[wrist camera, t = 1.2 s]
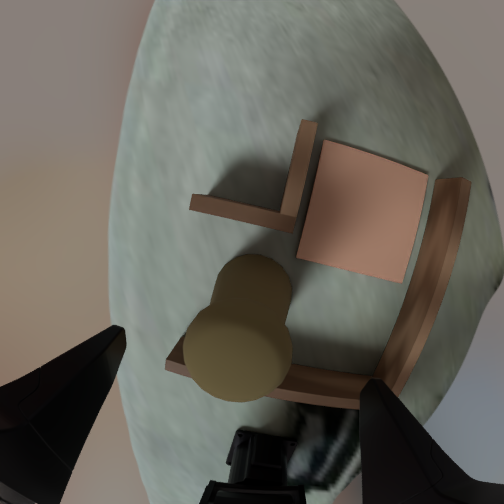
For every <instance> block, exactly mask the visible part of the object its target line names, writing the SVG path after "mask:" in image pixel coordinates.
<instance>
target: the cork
mask: <svg viewBox="0 0 504 504" xmlns="http://www.w3.org/2000/svg"><path fill="white" fill-rule="evenodd" d="M291 295H292V286H291V283H290V279H289V276H288V275H287V273H286V272H285V270H284V269H283V267H282V266H281V265H279V264H278V263H277V262H275V261H274V260H273V259H271V258H268V257H265V256H263V255H258V254H246V255H243V256H239V257H236V258H234V259H233V260H231V261H230V262H228V263H227V264H225V266H224V267H223V268H222V270H221V271H220V272H219V274H218V277H217V280H216V283H215V286H214V290H213V294H212V298H211V302H210V305H209V306H208V307H206V308H205V309H203V310H202V311H200V312H199V313H198V315H197V316H196V317H195V319H194V320H193V321H192V323H191V324H190V325H189V327H188V328H187V332H186V335H185V339H184V343H183V354H184V362H185V365H186V367H187V369H188V371H189V373H190V375H191V377H192V379H193V380H194V381H195V382H196V383H197V384H198V385H199V386H200V388H201V389H203V390H204V391H206V392H207V393H209V394H210V395H212V396H214V397H216V398H219V399H222V400H225V401H231V402H247V401H253V400H257V399H259V398H261V397H263V396H265V395H268V394H269V393H271V392H273V391H274V390H275V389H276V388H277V387H278V386H279V385H280V384H281V383H282V382H283V380H284V379H285V377H286V375H287V373H288V371H289V368H290V366H291V363H292V352H293V347H292V341H291V338H290V335H289V331H288V328H287V327H286V326H285V322H286V318H287V314H288V310H289V306H290V302H291Z"/></svg>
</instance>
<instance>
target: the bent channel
mask: <svg viewBox="0 0 504 504" xmlns="http://www.w3.org/2000/svg"><path fill="white" fill-rule="evenodd" d="M317 125H318V123H315V122H311V121H307V120H303V119H302V120H301V124H300V127H299V130H298V133H297V137H296V142H295V146H294V151H293V155H292V159H291V164H290V168H289V172H288V177H287V181H286V185H285V190H284V194H283V198H282V202H281V207H280V211H276V210H272V209H268V208H264V207H260V206H255V205H251V204H247V203H242V202H238V201H233V200H229V199H224V198H219V197H215V196H210V195H202V194H192V198H191V202H190V207H189V210H193V211H198V212H202V213H207V214H211V215H216V216H220V217H224V218H229V219H233V220H238V221H242V222H246V223H250V224H255V225H259V226H263V227H267V228H271V229H276V230H280V231H284V232H288V233H292V234H293V230H294V226H295V222H296V218H297V214H298V210H299V205H300V201H301V197H302V193H303V188H304V184H305V180H306V175H307V171H308V166H309V162H310V157H311V153H312V148H313V144H314V139H315V134H316V130H317ZM470 189H471V182H470V181H469V180H467V179H465V178H463V177H459V178H448V179H437V180H435V185H434V191H433V196H432V201H431V206H430V211H429V215H428V220H427V224H426V228H425V232H424V236H423V240H422V244H421V248H420V252H419V255H418V259H417V262H416V266H415V269H414V272H413V275H412V278H411V282H410V285H409V288H408V291H407V294H406V297H405V299H404V302H403V305H402V308H401V310H400V313H399V316H398V318H397V321H396V324H395V326H394V329H393V331H392V334H391V336H390V338H389V341H388V343H387V346H386V348H385V350H384V352H383V355H382V357H381V359H380V361H379V363H378V366H377V368H376V370H375V372H374V374H373V376H368V375H360V374H352V373H345V372H338V371H332V370H325V369H319V368H313V367H308V366H302V365H297V364H292V363H291V366H290V368H289V371H288V373H287V375H286V377H285V379H284V380H283V382H282V383H281V384H280V385H279V386H278V387H277V388H276V389H275V390H274V391H273V392H271V393H269V394H268V395H265V396H266V397H271V398H277V399H282V400H288V401H294V402H300V403H307V404H314V405H321V406H329V407H338V408H348V409H359V407H360V392H361V390H362V389H363V387H364V386H365V385H366V383H367V382H368V380H369V379H370V378H381V379H382V380H383V381H384V382H385V383H386V385H387V386H388V387H389V388H390V389H391V390H392V391H393V393H394V394H395V395H396V396H397V397H398V396H399V394H400V393H401V391H402V389H403V387H404V385H405V384H406V382H407V380H408V378H409V376H410V374H411V372H412V370H413V368H414V366H415V364H416V362H417V360H418V358H419V356H420V353H421V351H422V349H423V347H424V345H425V342H426V340H427V338H428V336H429V333H430V331H431V328H432V326H433V323H434V321H435V318H436V316H437V313H438V311H439V308H440V305H441V303H442V300H443V297H444V294H445V291H446V288H447V285H448V282H449V279H450V276H451V272H452V269H453V266H454V262H455V259H456V255H457V251H458V247H459V244H460V239H461V235H462V231H463V227H464V222H465V217H466V212H467V207H468V201H469V195H470ZM184 339H185V337H181V338H180V340H179V341H178V342H177V344H176V345H175V347H174V348H173V350H172V351H171V353H170V354H169V356H168V357H167V359H166V364H165V370H167V371H171V372H174V373H177V374H180V375H183V376H186V377H190V378H192V377H191V375H190V373H189V371H188V369H187V367H186V365H185V362H184V354H183V343H184Z"/></svg>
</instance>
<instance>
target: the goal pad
mask: <svg viewBox="0 0 504 504" xmlns="http://www.w3.org/2000/svg"><path fill="white" fill-rule="evenodd" d="M427 180H428V175H426V174H424V173H421V172H419V171H416V170H414V169H411V168H409V167H406V166H404V165H401V164H398V163H396V162H393V161H390V160H388V159H385V158H382V157H379V156H376V155H373V154H370V153H367V152H364V151H361V150H358V149H355V148H352V147H348V146H345V145H342V144H338V143H335V142H331V141H328V140H323V145H322V149H321V154H320V158H319V163H318V168H317V172H316V176H315V181H314V185H313V190H312V194H311V198H310V202H309V207H308V211H307V215H306V219H305V223H304V227H303V231H302V235H301V239H300V243H299V247H298V251H297V255H296V258H299V259H303V260H307V261H312V262H316V263H320V264H324V265H328V266H332V267H336V268H340V269H344V270H348V271H353V272H357V273H361V274H365V275H369V276H373V277H377V278H381V279H385V280H389V281H393V282H397V283H401V284H402V281H403V278H404V275H405V272H406V269H407V265H408V262H409V258H410V255H411V251H412V248H413V244H414V240H415V236H416V232H417V228H418V224H419V220H420V216H421V211H422V206H423V202H424V197H425V191H426V186H427Z"/></svg>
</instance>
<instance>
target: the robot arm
mask: <svg viewBox="0 0 504 504" xmlns="http://www.w3.org/2000/svg"><path fill="white" fill-rule="evenodd" d="M125 350H126V334H125V329H124V328H123V327H120V326H117V325H112V326H110V327H109V328H107V329H105V330H103V331H102V332H100V333H98V334H96V335H95V336H93V337H91V338H89V339H88V340H86V341H84V342H82V343H81V344H79V345H77V346H75V347H74V348H72V349H70V350H68V351H67V352H65V353H63V354H61V355H60V356H58V357H56V358H55V359H53V360H51V361H49V362H48V363H46V364H44V365H43V366H41V368H40V367H39V368H37V369H36V370H34V371H32V372H30V373H28V374H26V375H25V376H23V377H21V378H19V379H17V380H14V381H12V382H10V383H8V384H5V385H3V386H1V387H0V504H35V503H37V504H60V502H61V499H62V497H63V494H64V491H65V489H66V486H67V484H68V481H69V479H70V477H71V474H72V471H73V469H74V466H75V464H76V462H77V459H78V457H79V455H80V453H81V450H82V448H83V446H84V443H85V441H86V439H87V437H88V435H89V433H90V430H91V428H92V426H93V424H94V422H95V420H96V417H97V415H98V413H99V411H100V409H101V407H102V405H103V403H104V401H105V399H106V397H107V395H108V393H109V391H110V389H111V387H112V384H113V382H114V379H115V377H116V374H117V371H118V368H119V366H120V363H121V360H122V358H123V355H124V352H125ZM359 436H360V449H361V467H362V495H363V504H504V484H496V483H489V482H482V481H478V480H475V479H473V478H471V477H470V476H468V475H467V474H466V473H465V472H464V471H463V470H462V469H461V468H460V467H459V466H458V465H457V464H456V463H455V462H454V461H453V460H452V459H451V458H450V457H449V456H448V455H447V454H446V453H445V452H444V451H443V450H442V449H441V447H440V446H439V445H438V444H437V443H436V442H435V440H434V439H432V437H431V436H430V435H429V433H428V432H427V431H426V430H425V429H424V428H423V426H422V425H421V424H420V423H419V422H418V421H417V419H416V418H415V417H414V416H413V415H412V414H411V412H410V411H409V410H408V409H407V408H406V407H405V405H404V404H403V403H402V402H401V401H400V400H399V398H398V397H397V396H396V395H395V394H394V393H393V391H392V390H391V389H390V388H389V387H388V386H387V385H386V383H385V382H384V381H383V380H382V379H381V378H370V379H369V380H368V382H367V383H366V385H365V386H364V387H363V389H362V390H361V392H360V407H359ZM297 444H298V442H297V440H296V439H290V438H283V437H277V436H271V435H265V434H259V433H254V432H249V431H244V430H237V431H236V433H235V436H234V439H233V442H232V445H231V448H230V451H229V454H228V457H227V460H226V464H227V465H230V466H231V469H230V474H229V479H228V483H223V482H216V481H213V480H210V482H209V484H208V486H206V488H205V491H204V493H203V496H202V498H201V500H200V503H199V504H306V497H305V491H304V485H298V486H287V463H288V461H289V459H290V457H291V456H292V454H293V452H294V450H295V448H296V447H297Z"/></svg>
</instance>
